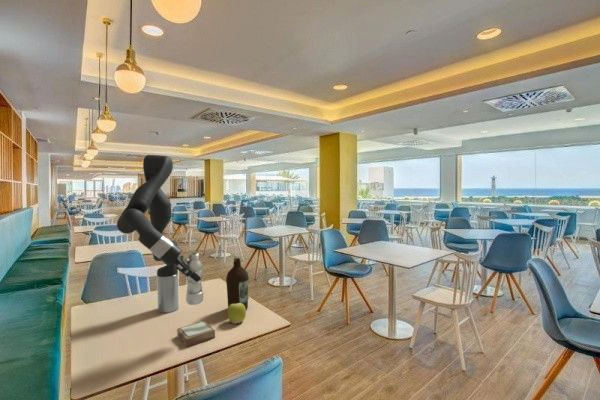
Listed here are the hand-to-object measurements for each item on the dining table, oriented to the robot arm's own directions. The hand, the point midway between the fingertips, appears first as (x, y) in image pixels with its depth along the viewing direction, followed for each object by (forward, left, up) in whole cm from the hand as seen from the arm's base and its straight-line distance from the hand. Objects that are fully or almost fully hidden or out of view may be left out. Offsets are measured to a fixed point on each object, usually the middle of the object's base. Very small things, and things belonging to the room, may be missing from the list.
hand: (198, 277), depth 122 cm
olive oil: (-14, +25, -24) cm, 37 cm away
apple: (-2, +18, -24) cm, 30 cm away
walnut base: (0, -1, -24) cm, 24 cm away
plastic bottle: (-1, -2, -10) cm, 11 cm away
